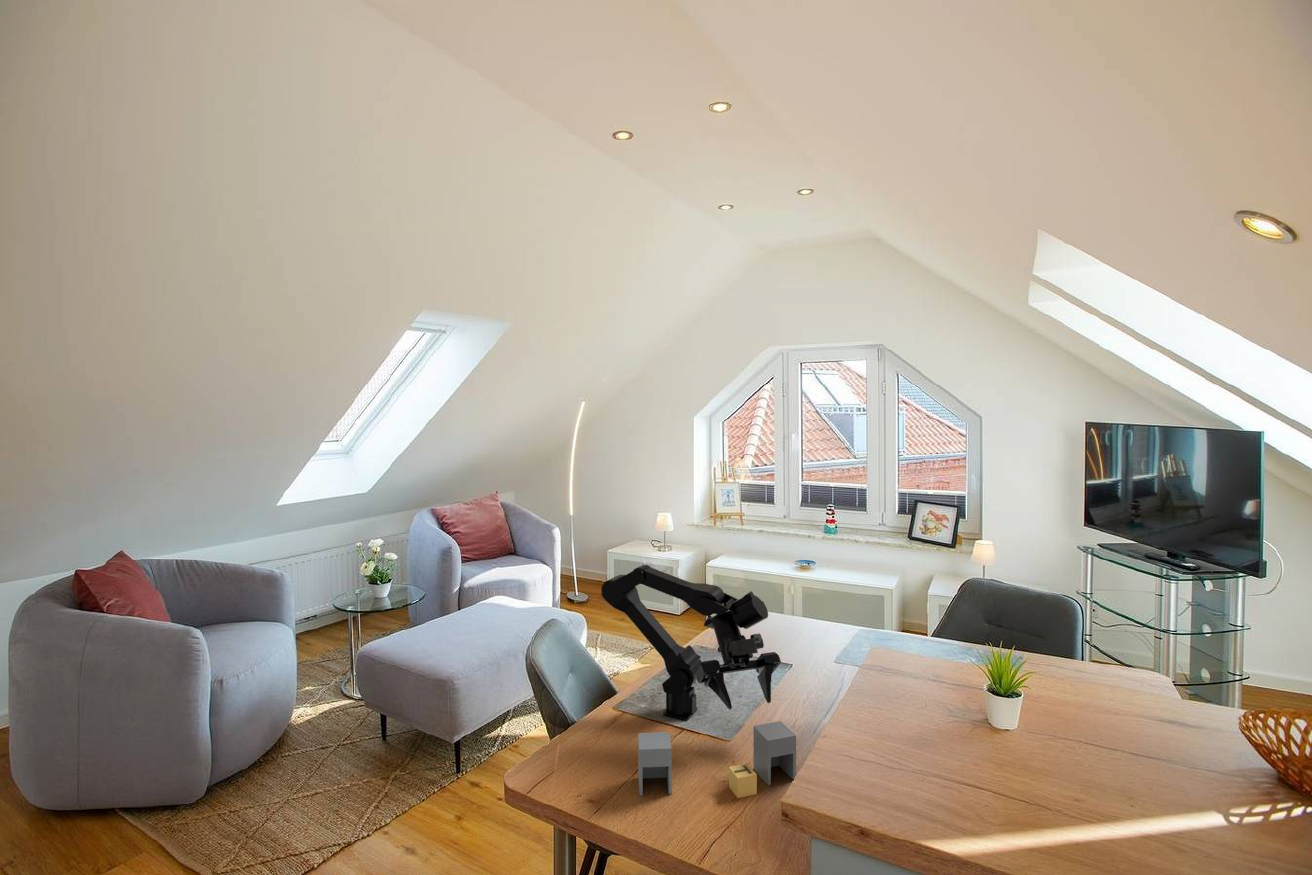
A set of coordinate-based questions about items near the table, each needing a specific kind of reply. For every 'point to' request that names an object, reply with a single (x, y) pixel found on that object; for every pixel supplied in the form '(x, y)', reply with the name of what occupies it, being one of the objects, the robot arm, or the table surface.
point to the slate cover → (654, 758)
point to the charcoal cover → (774, 750)
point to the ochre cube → (742, 780)
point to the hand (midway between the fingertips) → (750, 705)
